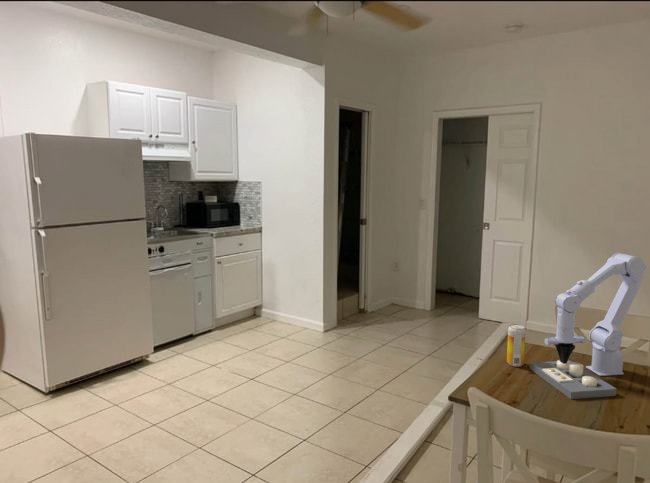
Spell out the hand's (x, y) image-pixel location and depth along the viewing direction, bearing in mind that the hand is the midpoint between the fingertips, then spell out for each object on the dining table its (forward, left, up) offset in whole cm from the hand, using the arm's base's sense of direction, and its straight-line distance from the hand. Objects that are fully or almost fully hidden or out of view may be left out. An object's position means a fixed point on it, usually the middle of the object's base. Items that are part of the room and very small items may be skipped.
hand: (563, 362), depth 170 cm
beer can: (+13, -10, -4) cm, 17 cm away
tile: (+7, +7, -2) cm, 10 cm away
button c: (0, +14, -4) cm, 14 cm away
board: (+2, +7, -4) cm, 8 cm away
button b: (0, +7, -2) cm, 7 cm away
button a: (0, 0, -4) cm, 4 cm away
